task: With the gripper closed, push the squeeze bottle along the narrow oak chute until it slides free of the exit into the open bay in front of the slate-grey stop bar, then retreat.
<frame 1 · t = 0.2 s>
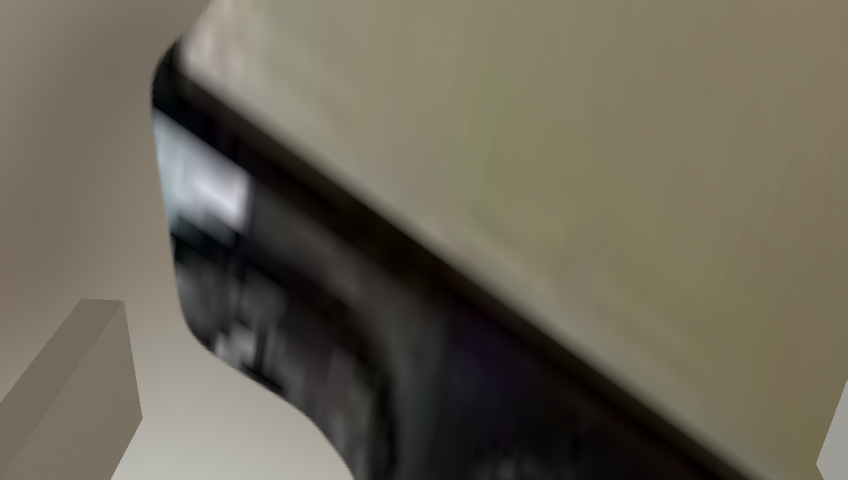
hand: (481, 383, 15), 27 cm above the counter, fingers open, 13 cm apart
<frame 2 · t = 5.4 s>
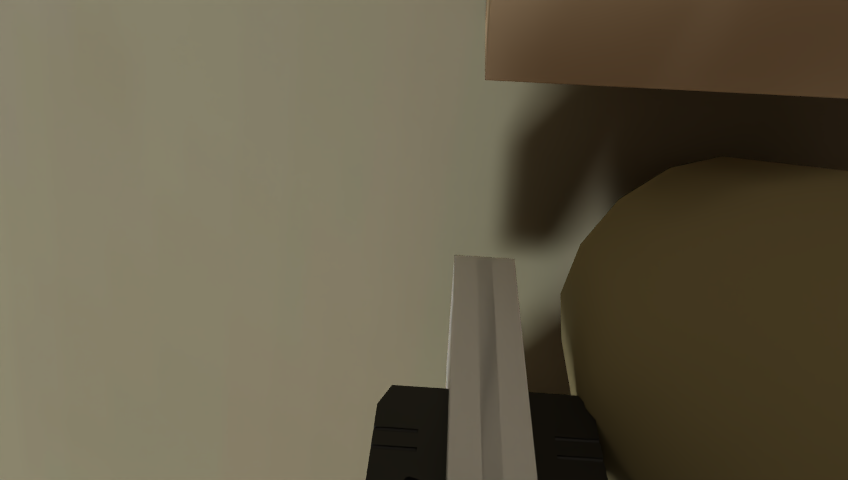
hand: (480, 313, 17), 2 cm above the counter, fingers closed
squeeze bottle: (675, 275, 18), point 1 cm above the counter, touching gripper
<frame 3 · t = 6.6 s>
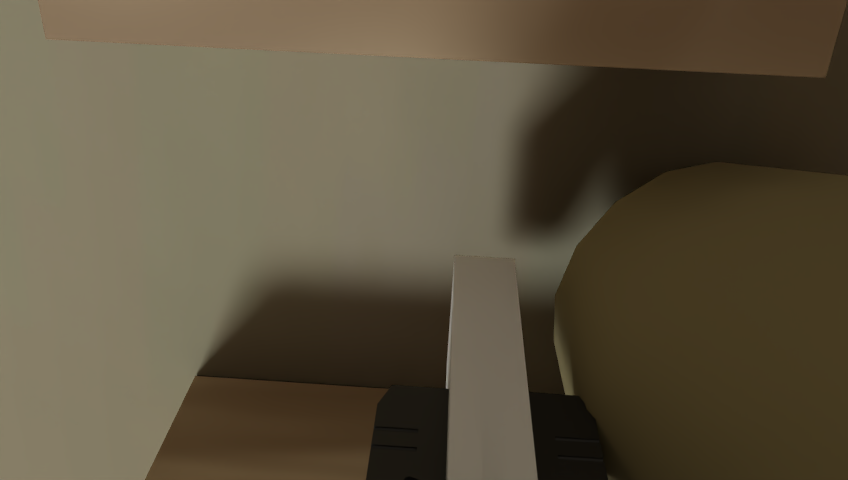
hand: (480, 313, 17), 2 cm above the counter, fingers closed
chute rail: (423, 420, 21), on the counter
squeeze bottle: (666, 279, 18), point 1 cm above the counter, touching gripper
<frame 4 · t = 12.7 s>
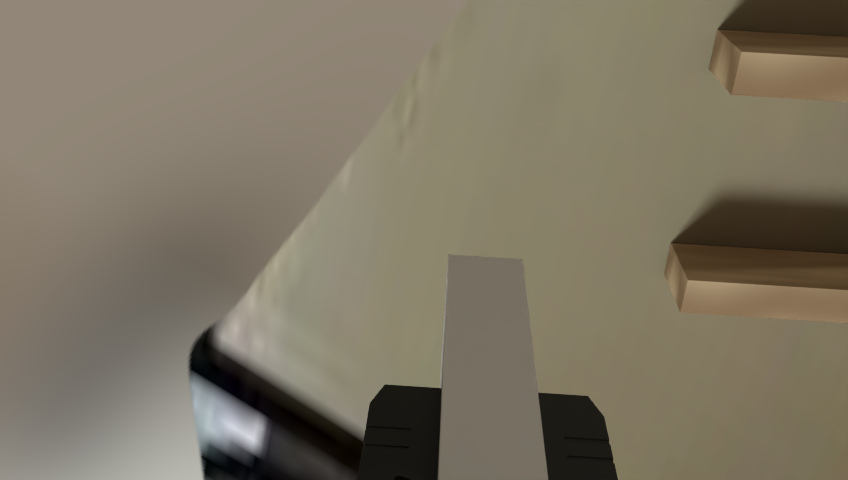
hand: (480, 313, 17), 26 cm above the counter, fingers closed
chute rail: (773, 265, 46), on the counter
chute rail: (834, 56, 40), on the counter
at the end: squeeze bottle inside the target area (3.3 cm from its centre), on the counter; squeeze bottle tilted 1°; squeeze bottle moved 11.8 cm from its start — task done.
